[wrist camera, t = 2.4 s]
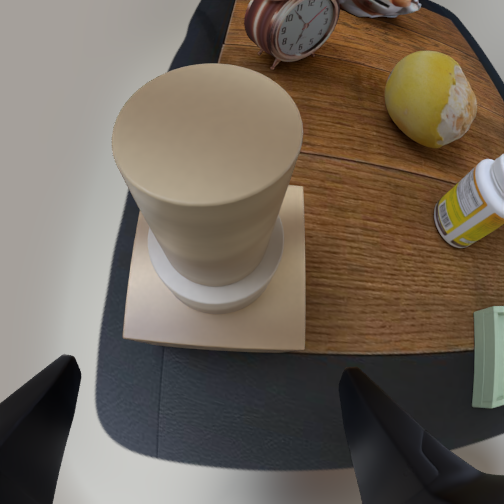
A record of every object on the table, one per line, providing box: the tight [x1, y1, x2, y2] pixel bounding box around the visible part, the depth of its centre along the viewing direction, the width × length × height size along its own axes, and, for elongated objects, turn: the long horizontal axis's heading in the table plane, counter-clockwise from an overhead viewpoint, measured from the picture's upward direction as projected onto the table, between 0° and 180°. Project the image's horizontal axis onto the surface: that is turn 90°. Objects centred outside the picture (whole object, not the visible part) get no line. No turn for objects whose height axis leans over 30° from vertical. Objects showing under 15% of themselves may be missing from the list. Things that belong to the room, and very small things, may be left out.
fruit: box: [385, 51, 477, 148], centre depth 26 cm, size 10×11×10 cm
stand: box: [123, 185, 305, 353], centre depth 20 cm, size 9×9×8 cm
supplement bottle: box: [434, 154, 504, 248], centre depth 22 cm, size 6×6×10 cm
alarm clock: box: [244, 0, 340, 70], centre depth 26 cm, size 11×5×15 cm, turn 127°
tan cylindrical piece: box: [112, 64, 303, 314], centre depth 11 cm, size 6×6×10 cm
